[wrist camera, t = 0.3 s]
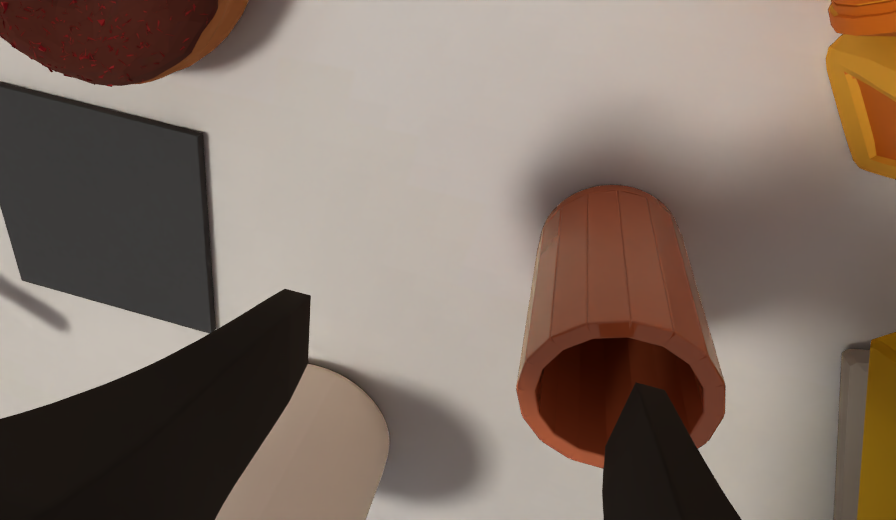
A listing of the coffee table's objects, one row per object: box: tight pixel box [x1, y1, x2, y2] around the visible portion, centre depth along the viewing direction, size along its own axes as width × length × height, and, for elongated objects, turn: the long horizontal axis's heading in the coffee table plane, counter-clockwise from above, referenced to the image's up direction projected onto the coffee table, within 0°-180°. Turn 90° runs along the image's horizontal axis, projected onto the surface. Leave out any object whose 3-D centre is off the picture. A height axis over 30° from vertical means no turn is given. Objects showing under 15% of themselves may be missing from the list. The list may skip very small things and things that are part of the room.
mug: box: [215, 364, 390, 520], centre depth 26 cm, size 12×8×10 cm
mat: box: [0, 82, 216, 333], centre depth 25 cm, size 10×10×1 cm
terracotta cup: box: [516, 185, 725, 469], centre depth 18 cm, size 5×5×8 cm
